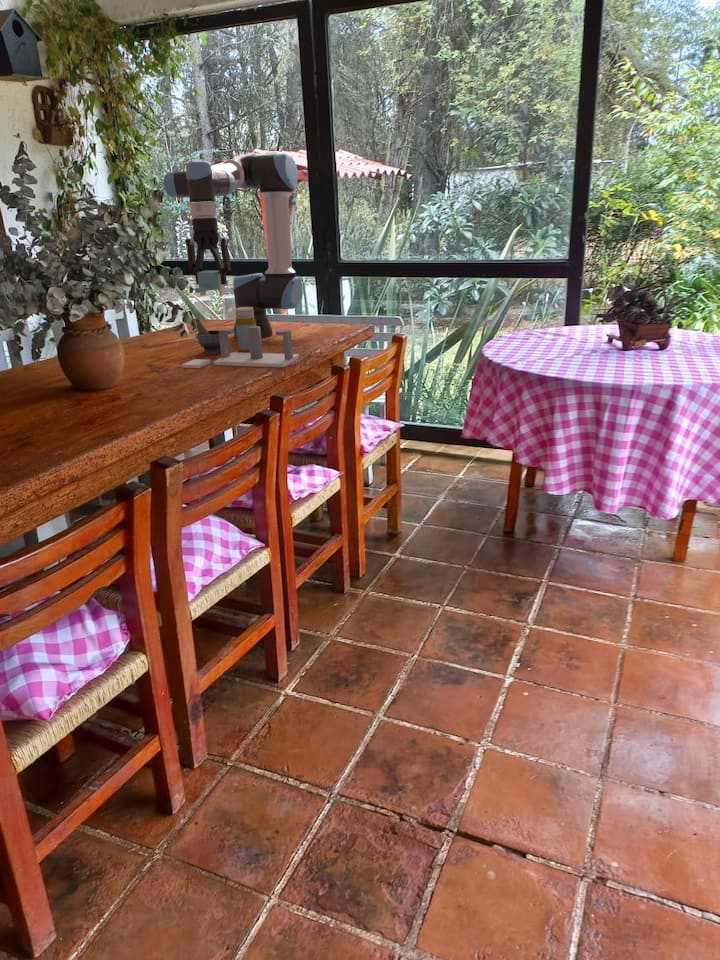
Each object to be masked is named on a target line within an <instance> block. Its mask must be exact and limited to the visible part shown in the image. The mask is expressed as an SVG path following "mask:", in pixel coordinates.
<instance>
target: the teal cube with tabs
mask: <svg viewBox="0 0 720 960" xmlns="http://www.w3.org/2000/svg"><path fill="white" fill-rule="evenodd" d="M217 274H219V270H218V269H216V270H202V272H198V273H197V276H198V284H199V285H198V287H195V288H194V293H196V294H197V293H199V294H200V293H202V292H205V291H206V292H208V291H217V290H218V291H219V284H218V275H217ZM226 281H227V283H226V284H224V285H225V287H226V286H228V285H229V281H228V280H226Z"/></svg>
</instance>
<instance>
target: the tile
mask: <svg viewBox="0 0 720 960" xmlns="http://www.w3.org/2000/svg"><path fill="white" fill-rule="evenodd" d="M211 361H212V360H211V359H202V358H201V359H197V358H195V359H194V358H193V359H192V360H189V361H187V362H185V363H182V364H181V367H182V369H183V368H185V369H201V368H202V367H205V366H207V365H209V364H211V363H212V362H211Z"/></svg>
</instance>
